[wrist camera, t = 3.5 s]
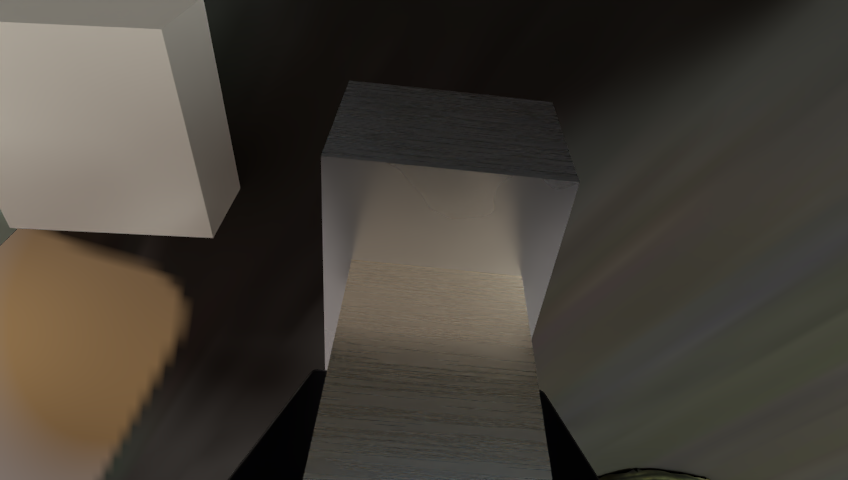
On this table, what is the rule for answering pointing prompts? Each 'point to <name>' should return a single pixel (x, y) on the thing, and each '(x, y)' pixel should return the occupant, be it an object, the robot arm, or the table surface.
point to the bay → (5, 229)
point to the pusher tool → (436, 283)
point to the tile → (112, 118)
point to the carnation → (648, 476)
